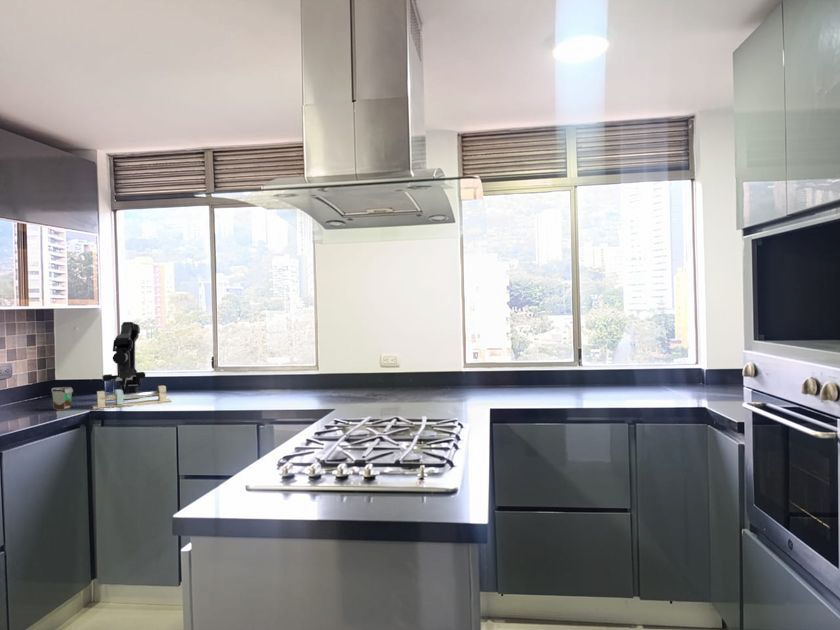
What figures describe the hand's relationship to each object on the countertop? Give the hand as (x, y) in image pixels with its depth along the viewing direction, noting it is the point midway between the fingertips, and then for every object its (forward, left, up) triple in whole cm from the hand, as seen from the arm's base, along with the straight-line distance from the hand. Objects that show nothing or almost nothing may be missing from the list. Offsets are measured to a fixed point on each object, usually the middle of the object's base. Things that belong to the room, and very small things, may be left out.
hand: (124, 393), depth 289 cm
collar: (+4, -3, -4) cm, 6 cm away
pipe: (+6, +3, -2) cm, 7 cm away
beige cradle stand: (+6, +3, -5) cm, 8 cm away
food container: (-5, -25, -5) cm, 26 cm away
